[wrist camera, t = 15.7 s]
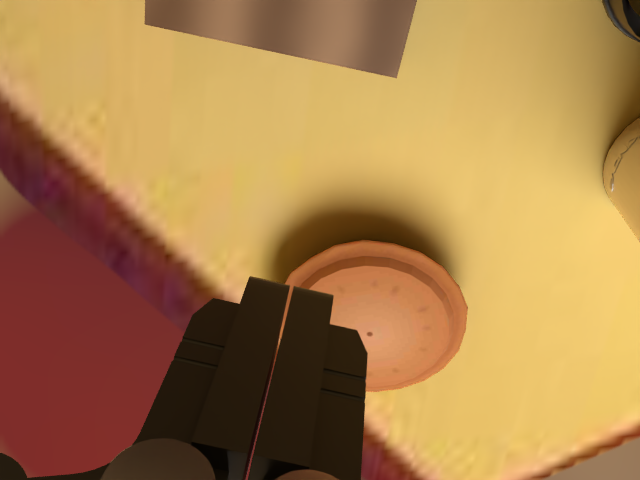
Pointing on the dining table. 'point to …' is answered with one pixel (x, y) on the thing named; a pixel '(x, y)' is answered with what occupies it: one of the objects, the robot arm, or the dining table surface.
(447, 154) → the dining table surface
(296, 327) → the robot arm
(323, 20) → the socket block
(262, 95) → the dining table surface
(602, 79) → the dining table surface
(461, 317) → the pie
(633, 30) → the french press
